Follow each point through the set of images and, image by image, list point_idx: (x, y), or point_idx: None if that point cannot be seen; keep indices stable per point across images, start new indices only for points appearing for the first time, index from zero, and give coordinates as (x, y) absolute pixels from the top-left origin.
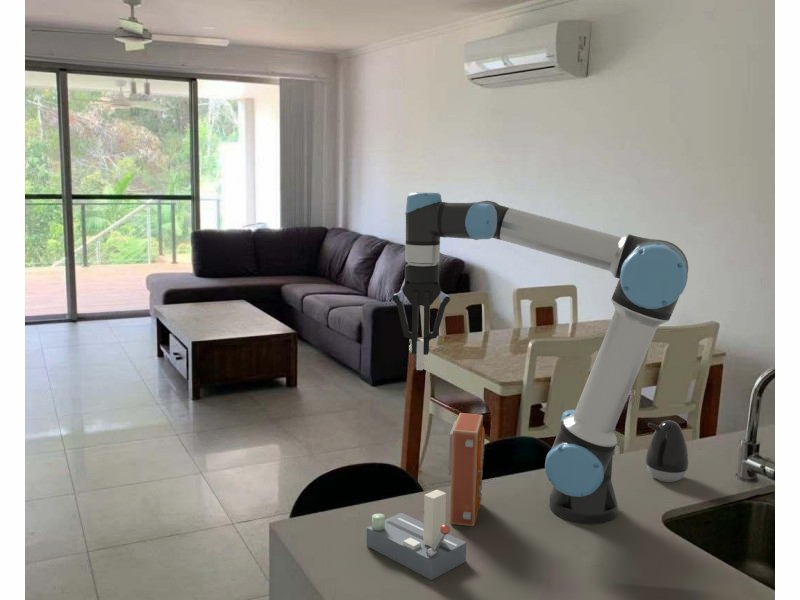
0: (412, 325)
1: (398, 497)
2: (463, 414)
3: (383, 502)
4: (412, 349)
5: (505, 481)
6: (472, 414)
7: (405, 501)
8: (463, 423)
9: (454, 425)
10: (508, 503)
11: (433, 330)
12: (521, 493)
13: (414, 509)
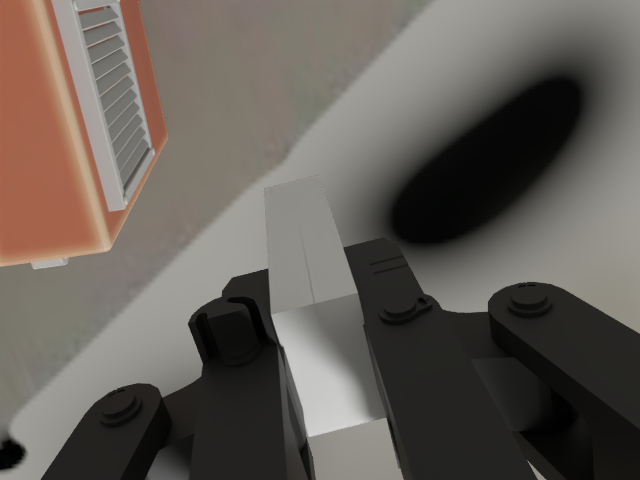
0: (498, 429)
1: (338, 95)
2: (81, 232)
3: (371, 44)
4: (395, 260)
5: (82, 309)
6: (39, 249)
7: (310, 75)
8: (22, 98)
9: (98, 133)
10: None
11: (121, 467)
12: None
13: (267, 30)
